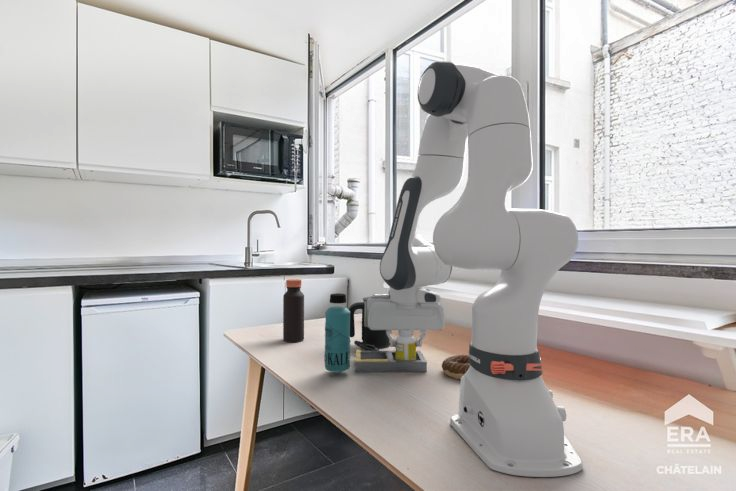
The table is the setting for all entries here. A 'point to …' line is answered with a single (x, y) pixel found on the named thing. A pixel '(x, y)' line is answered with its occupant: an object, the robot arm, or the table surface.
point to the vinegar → (293, 312)
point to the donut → (456, 366)
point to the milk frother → (367, 330)
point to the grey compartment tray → (388, 362)
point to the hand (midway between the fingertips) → (405, 346)
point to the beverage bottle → (337, 335)
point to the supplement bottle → (405, 345)
